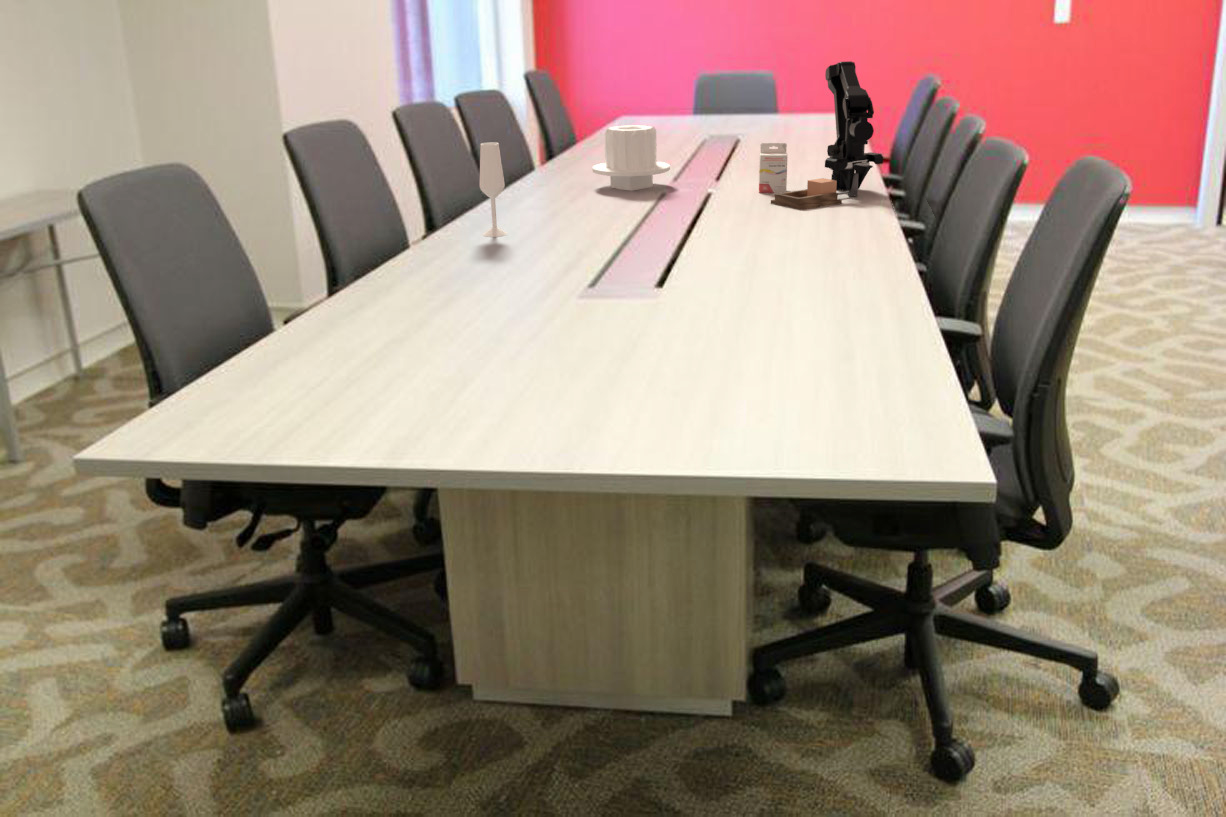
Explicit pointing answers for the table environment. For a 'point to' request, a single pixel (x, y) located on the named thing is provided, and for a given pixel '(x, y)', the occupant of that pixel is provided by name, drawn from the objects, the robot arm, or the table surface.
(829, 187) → the tethered block
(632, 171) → the flanged gear
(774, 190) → the ink cartridge box
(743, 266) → the table surface
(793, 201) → the wooden tray
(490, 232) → the champagne flute
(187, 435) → the table surface
